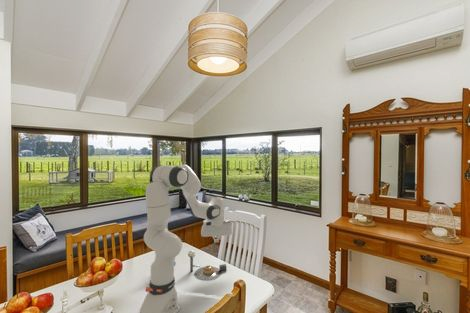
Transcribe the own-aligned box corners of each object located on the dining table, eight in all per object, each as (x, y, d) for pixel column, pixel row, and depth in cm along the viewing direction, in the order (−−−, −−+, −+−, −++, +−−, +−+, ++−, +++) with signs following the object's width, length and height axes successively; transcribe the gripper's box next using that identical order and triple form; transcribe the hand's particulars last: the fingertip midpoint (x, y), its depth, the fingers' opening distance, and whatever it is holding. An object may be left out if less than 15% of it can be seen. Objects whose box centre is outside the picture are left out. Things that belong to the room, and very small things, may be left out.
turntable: (197, 284, 134) (197, 277, 134) (192, 270, 150) (192, 264, 150) (230, 277, 142) (230, 271, 141) (221, 264, 157) (221, 259, 157)
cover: (203, 276, 142) (203, 270, 142) (202, 270, 148) (202, 265, 148) (214, 274, 143) (214, 269, 143) (213, 269, 150) (213, 263, 150)
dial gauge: (187, 274, 146) (187, 251, 146) (189, 271, 150) (189, 249, 150) (199, 276, 144) (199, 253, 144) (201, 272, 148) (201, 250, 148)
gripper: (231, 219, 157) (230, 239, 156) (201, 220, 151) (200, 241, 151) (233, 221, 150) (232, 243, 150) (202, 223, 145) (201, 245, 145)
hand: (216, 242), depth 151 cm, fingers closed
